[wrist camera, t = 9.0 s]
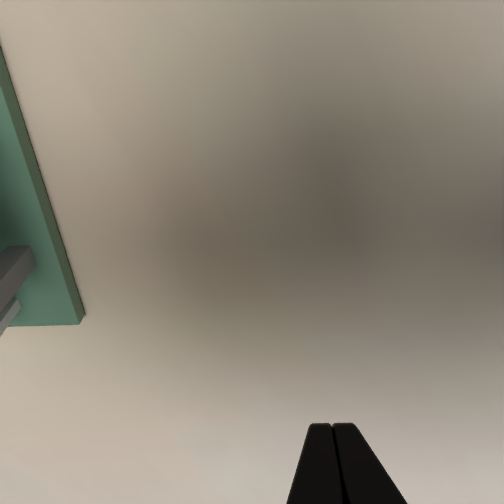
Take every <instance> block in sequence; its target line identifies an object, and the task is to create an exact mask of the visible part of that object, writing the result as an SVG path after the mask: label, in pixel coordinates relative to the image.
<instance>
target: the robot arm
mask: <svg viewBox="0 0 504 504" xmlns="http://www.w3.org/2000/svg"><path fill="white" fill-rule="evenodd" d="M286 504H407V502H406V501H405V499H404V498H403V496H402V494H401V493H400V491H399V490H398V488H397V487H396V485H395V484H394V482H393V481H392V479H391V478H390V476H389V475H388V473H387V472H386V470H385V469H384V467H383V466H382V464H381V463H380V461H379V460H378V458H377V457H376V455H375V454H374V452H373V451H372V449H371V448H370V446H369V445H368V443H367V442H366V440H365V439H364V437H363V435H362V434H361V432H360V431H359V429H358V428H357V427H356V426H355V424H353V423H334V424H333V425H332V426H331V424H329V423H312V424H311V425H310V426H309V428H308V432H307V435H306V439H305V442H304V445H303V449H302V452H301V456H300V459H299V462H298V466H297V469H296V473H295V476H294V479H293V483H292V486H291V490H290V493H289V496H288V500H287V503H286Z"/></svg>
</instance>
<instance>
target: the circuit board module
mask: <svg viewBox="0 0 504 504" xmlns="http://www.w3.org/2000/svg"><path fill="white" fill-rule="evenodd" d="M84 315H85V313H84V310H83V307H82V303H81V300H80V297H79V294H78V291H77V288H76V284H75V281H74V278H73V275H72V272H71V269H70V266H69V262H68V259H67V256H66V253H65V250H64V247H63V243H62V240H61V237H60V234H59V231H58V228H57V225H56V221H55V218H54V215H53V212H52V209H51V206H50V202H49V199H48V196H47V193H46V190H45V187H44V183H43V180H42V177H41V174H40V171H39V168H38V165H37V161H36V158H35V155H34V152H33V149H32V146H31V142H30V139H29V136H28V133H27V130H26V127H25V124H24V120H23V117H22V114H21V111H20V108H19V105H18V101H17V98H16V95H15V92H14V89H13V86H12V83H11V79H10V76H9V73H8V70H7V67H6V64H5V60H4V57H3V54H2V51H1V48H0V336H1V335H2V334H3V332H4V331H5V329H6V328H7V327H12V326H49V325H79V324H80V322H81V321H82V319H83V317H84Z"/></svg>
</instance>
